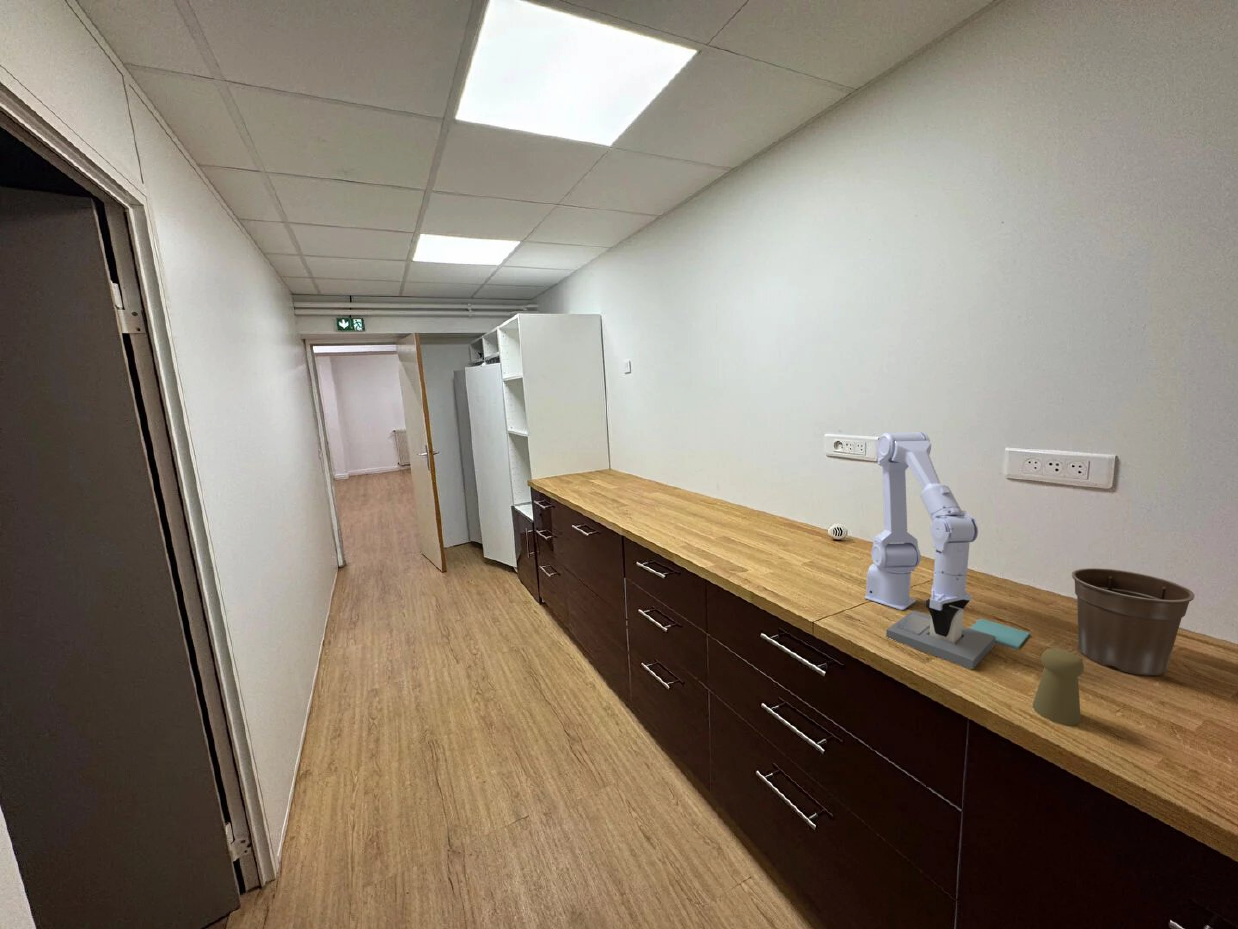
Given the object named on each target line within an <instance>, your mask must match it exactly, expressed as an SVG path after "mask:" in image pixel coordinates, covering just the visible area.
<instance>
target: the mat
mask: <svg viewBox="0 0 1238 929" xmlns="http://www.w3.org/2000/svg"><path fill="white" fill-rule="evenodd" d="M969 628H971V629H974V630H977V631H980V632H983V633H987V634H990V635H993V636H996V638H995V643H997V644H1000V645H1004V646H1006V647H1009V648H1012V649H1016V650H1019V648H1020V647H1021V646H1022V645H1023V644H1024V642H1025V641H1026V640H1027V639H1028V638H1029V636H1030V632H1029V631H1024V630H1021V629H1018V628H1016V627H1012V626H1008V625H1005V624H1001V623H998V622H995V621H991V620H987V619H984V618H979V619H978V620H977V621H976V622H974V624H973V625H971V626H970V627H969Z"/></svg>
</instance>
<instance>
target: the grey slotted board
mask: <svg viewBox="0 0 1238 929" xmlns="http://www.w3.org/2000/svg"><path fill="white" fill-rule="evenodd" d="M930 620H931V615H930V614H926V613H922V612H919V611H917V610H912V611H910V612H909V613H908V614H906V615H904V617H902V618H901V619H899V620H898V621H897V622H895V623H894V624H892V625H891V626H889V627H888V628H887V629H886V632H885V633H886V634H885V635H886V636H885V638H886V637H888V638H891V639H893V640H896V641H898V642H897V643H899V642H900V643H899V644H901V643H903V644H902V645H904V644H907V645H909V646H911V647H910V648H912V647H913V648H912V649H915V650H917V649H918V651H920V650H922V651H921V652H923V651H925V652H926V653H925V652H924V653H925V654H928V653H930V654H929V655H931V654H932V655H931V656H933V655H934V657H936V656H938V657H937V658H939V657H940V658H939V659H942V658H943V659H942V660H944V659H945V661H947V660H948V662H950V663H952V662H954V663H953V664H955V663H956V664H955V665H958V664H959V665H958V666H960V665H961V667H963V668H966V669H969V670H971V669H973V670H974V669H975V667H976V666H978V664H980V662H981V661H982V660H983V659H984V657H986V655H987V654H989V652H990V651H991V650H992V649H993V647H994V646H996V642H995V638H996V636H993V635H990V634H987V633H983V632H980V631H977V630H974V629H971V628H970V627H967V626H964V625H962V634H961V640H959V641H958V642H957V643H956V644H954V643H951V642H948V641H945V640H942V639H939V638H936V637H933V636H930V635H929V634H930ZM888 638H887V639H888ZM893 640H892V641H893ZM896 641H895V642H896ZM907 645H906V646H907ZM909 646H908V647H909Z"/></svg>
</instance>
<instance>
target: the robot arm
mask: <svg viewBox="0 0 1238 929" xmlns="http://www.w3.org/2000/svg"><path fill="white" fill-rule="evenodd" d="M931 451H932V443H931V440H930V438H929V436H928V434H927V433H926V432H925V431H918V432H895V433H894V432H893V433H892V432H891V433H890V432H884V433H882V434H881V436H880V437H879V439H878V440H877V442H876V453H877V454H876V456H877V458H876V459H877V465H878V466H881V471H882V472H881V473H882V475H881V476H882V497H883V526H884V529H883V531H882V532H879V534H877V535H875V536H874V537H873V539H872V540H873V542H872V548H871V551H870V553H871V554H870V555H871V560H872V561H873V563H872V564H870V565H869V568H868V570H867V573H866V574H867V575H866V587H865V588H866V589H865V590H866V591H865V596H864V599H866V600H869V601H872V602H875V603H878V604H882V605H885V606H887V607H890V608H893V609H897V610H899V611H905V610H906V609H907V608H908V607H910V606H911V605H912V604H914V603H915V602H916V600H917V599H915V598H912V597H910V596H911V595H910V594H911V593H910V592H911V579H912V572H915V568H918V567H919V565H920V563H921V559H922V555H921V554H922V553H921V551H920V549H919V544H918V539H917V538H916V537H915V536H913V535H912V534H911V533H909V532H908V510H907V508H908V507H907V486H906V485H907V483H906V470H907V469H908V468H909V469H910V471H911V472H912V474H913V476H914V477H915V478H916V480H917V482H918V483H919V484H918V485H920V486H921V489H922V491H921V494H920V498H921V501H922V503H923V505H924V506H925V509H926V511H927V513H928V515H929V517H930V520H931V524H930V527H929V531H930V534H931V537H932V545H933V548H934V549H935V552H934V566H933V580H932V586H931V589H930V590H931V596H930V598H928V599H927V600H926V601H925V607H926V608H927V610H928V612H929V615H930V616H931V617H932V621H933V626H934V630H935V633H936V634H938V635H941V636H944V637H947V635H948V633H949V630H950V626H951V622H952V620H953V617H954V616H955V614H956V613H957V611H958V610H959V609H957V608H954V607H950V605H951V606H955V607H958V608H961V609H965V608H966V607H967V605H968V604H969V602H970V601H971V600H972V599H973V595H972V594H971V593H968V592H967V590H966V589H967V577H968V569H969V568H968V565H969V555H970V554H969V553H970V545H971V544H970V543H973V542H975V540H977V538H978V535H979V527H978V523H977V522H976V519H975V518H974V516H972V515H971V514H968V513H967V512H966V511H965V510H962V509H961V507H960V505H959V503H958V501H957V499H956V498H955V496H954V494H953V492H952V490H951V489H950V487H949V486H948V485H945V484H942V483H941V482H940V480H939V477H938V474H937V471H936V469H935V467H934V464H933V461H932V460H931V457H930V455H931Z"/></svg>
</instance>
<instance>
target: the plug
mask: <svg viewBox="0 0 1238 929" xmlns="http://www.w3.org/2000/svg"><path fill="white" fill-rule="evenodd" d="M950 607H954V608H957V609H959V610H958V611H957V613H956V614H955V616H954V617H953V620H952V622H951V626H950V630H949V633H948V635H947V637H944V636H941V635H938V634H936V633H935V630H934V626H933V621H932V617H931V620H930V634H929V635H930V636H933V637H936V638H939V639H942V640H945V641H948V642H951V643H954V644H956V643H957V642H958V641H959V640H961V634H962V626H963V621H964V609H965V608H964V609H961V608H958V607H955V606H951V605H950Z"/></svg>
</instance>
